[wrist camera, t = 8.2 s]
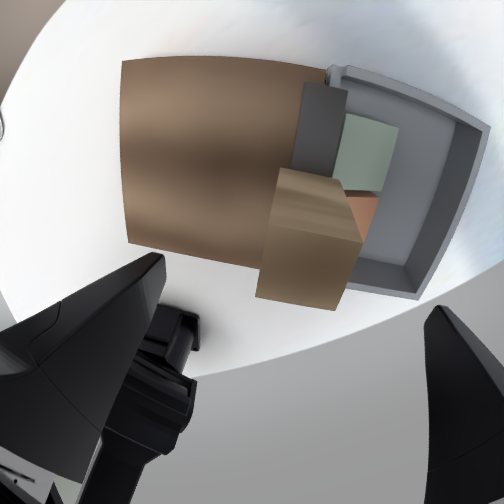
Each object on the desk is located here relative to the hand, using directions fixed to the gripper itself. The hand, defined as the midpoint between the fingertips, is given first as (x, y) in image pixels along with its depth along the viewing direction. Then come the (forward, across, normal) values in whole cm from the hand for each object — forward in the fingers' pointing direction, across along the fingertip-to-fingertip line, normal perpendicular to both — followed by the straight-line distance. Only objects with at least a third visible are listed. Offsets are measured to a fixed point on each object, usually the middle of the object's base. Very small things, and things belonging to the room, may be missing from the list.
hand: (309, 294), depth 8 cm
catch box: (+13, -6, 0) cm, 14 cm away
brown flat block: (+13, +6, 0) cm, 14 cm away
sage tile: (+11, -3, -2) cm, 12 cm away
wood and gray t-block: (+10, 0, 0) cm, 10 cm away
